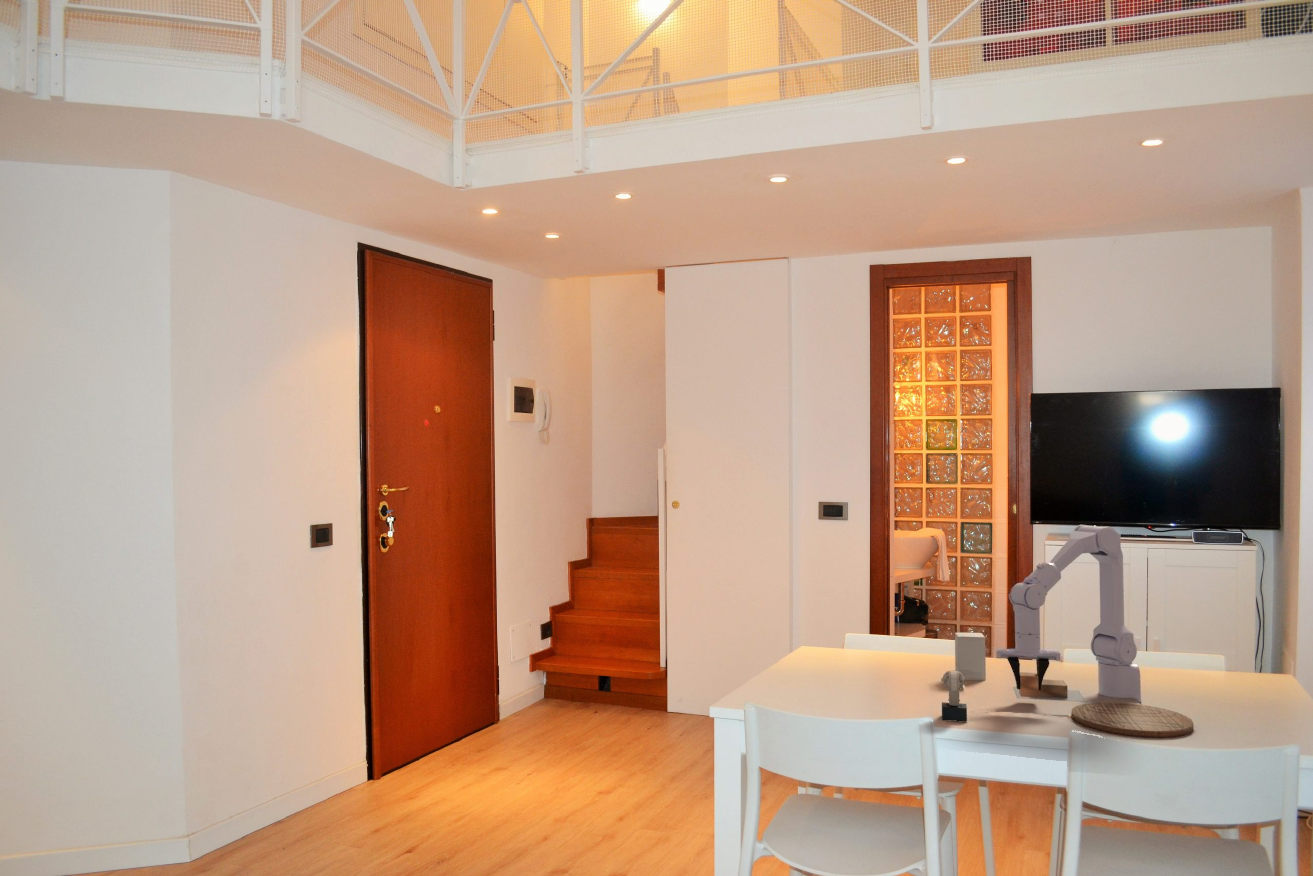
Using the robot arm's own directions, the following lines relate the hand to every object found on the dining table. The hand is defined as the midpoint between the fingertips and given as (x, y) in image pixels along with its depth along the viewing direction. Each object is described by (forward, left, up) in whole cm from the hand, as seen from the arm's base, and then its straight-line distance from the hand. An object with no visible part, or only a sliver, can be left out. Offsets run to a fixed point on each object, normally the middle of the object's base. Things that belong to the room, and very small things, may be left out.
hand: (1028, 689), depth 234 cm
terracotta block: (0, 0, -2) cm, 2 cm away
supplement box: (+12, -27, -5) cm, 30 cm away
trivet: (-21, +9, -5) cm, 23 cm away
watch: (+18, +15, -5) cm, 24 cm away
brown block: (-6, -11, -4) cm, 13 cm away
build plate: (-6, -11, -5) cm, 13 cm away
